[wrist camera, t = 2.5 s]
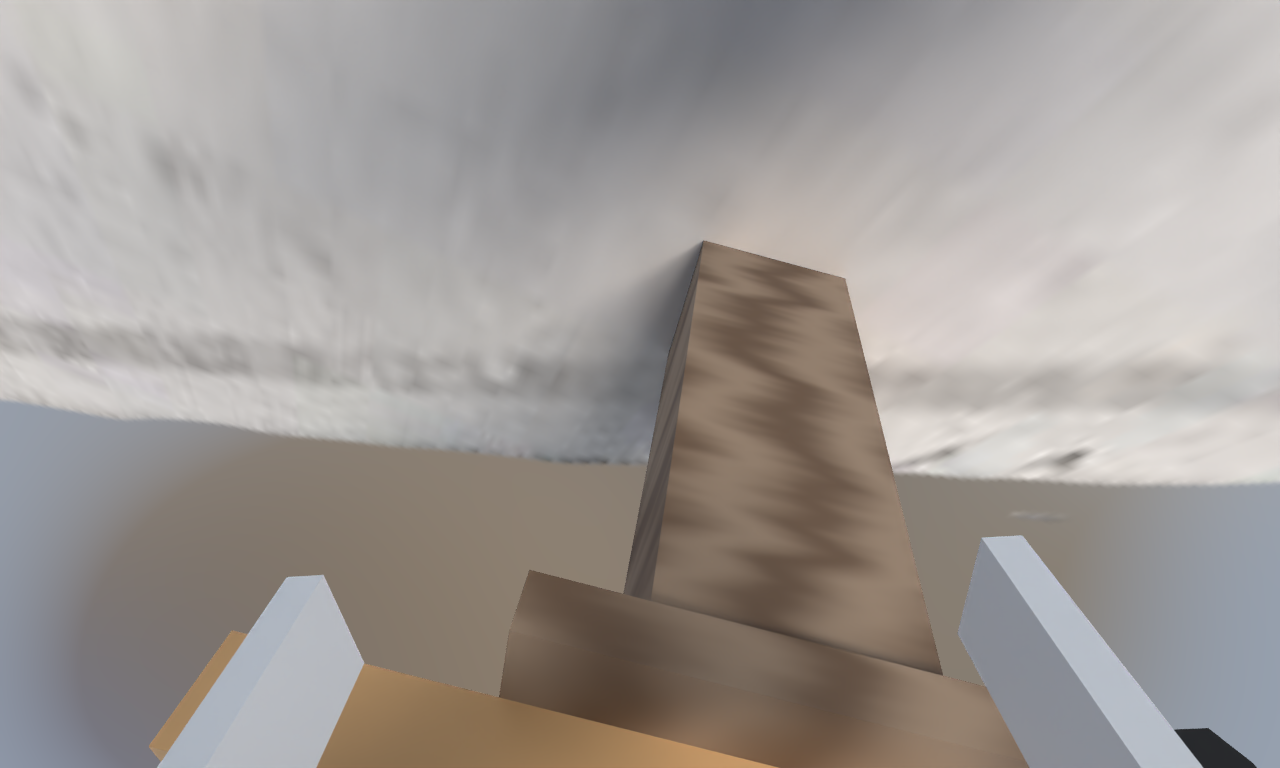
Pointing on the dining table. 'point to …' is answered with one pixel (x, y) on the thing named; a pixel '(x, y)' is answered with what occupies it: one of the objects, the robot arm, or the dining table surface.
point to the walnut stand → (762, 558)
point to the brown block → (459, 729)
